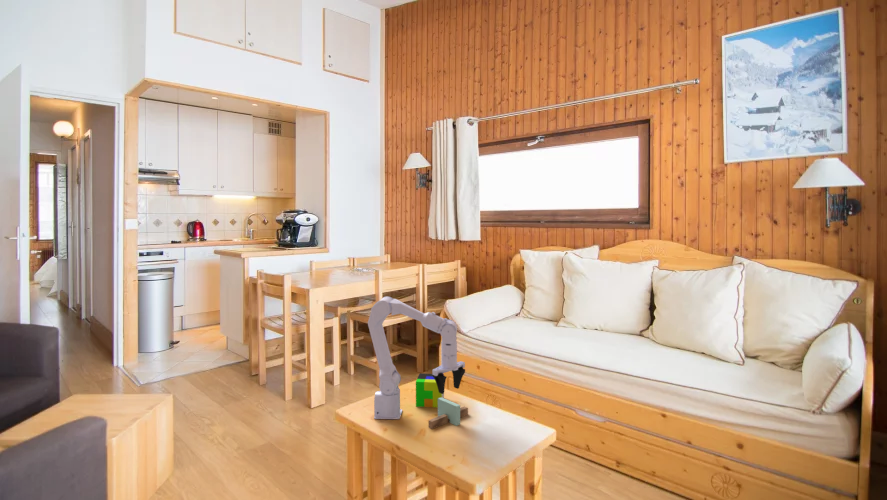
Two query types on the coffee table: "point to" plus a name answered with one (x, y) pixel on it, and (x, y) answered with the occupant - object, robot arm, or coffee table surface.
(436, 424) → the walnut rail
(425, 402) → the puzzle toy
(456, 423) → the teal plate
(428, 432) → the coffee table surface
